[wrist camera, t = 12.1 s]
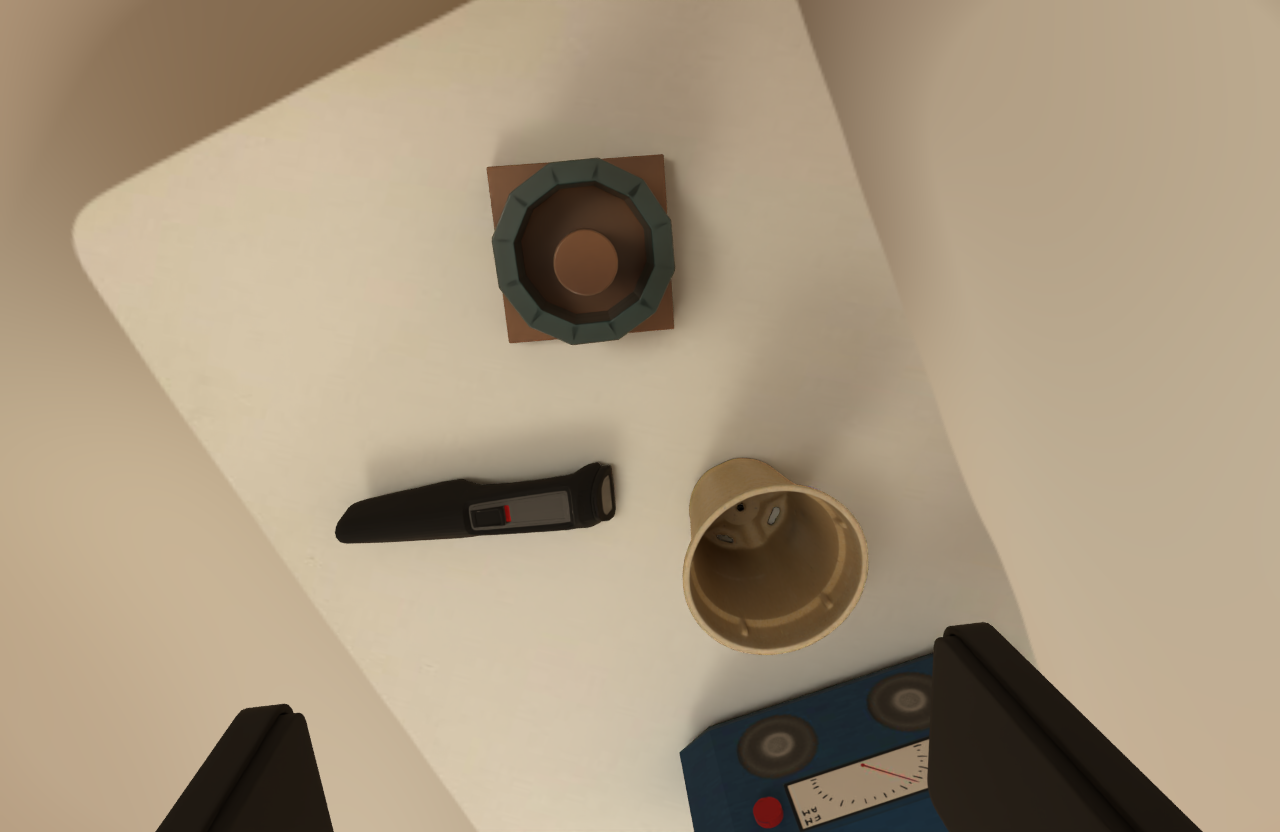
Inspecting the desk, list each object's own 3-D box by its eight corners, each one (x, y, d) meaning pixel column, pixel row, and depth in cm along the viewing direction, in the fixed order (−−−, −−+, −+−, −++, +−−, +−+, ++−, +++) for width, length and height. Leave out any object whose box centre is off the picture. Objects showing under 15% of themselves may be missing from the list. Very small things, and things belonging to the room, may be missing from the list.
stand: (490, 169, 36) (444, 142, 24) (660, 156, 37) (699, 124, 25) (511, 338, 39) (480, 391, 27) (670, 325, 39) (711, 370, 27)
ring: (491, 174, 35) (480, 169, 31) (656, 158, 35) (665, 150, 31) (516, 339, 37) (508, 352, 33) (670, 321, 37) (680, 333, 34)
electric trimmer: (346, 482, 40) (326, 504, 37) (610, 456, 41) (612, 475, 38) (358, 540, 41) (340, 566, 38) (616, 514, 42) (618, 537, 39)
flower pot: (814, 565, 44) (868, 645, 36) (668, 581, 43) (688, 666, 35) (812, 425, 41) (870, 475, 33) (657, 440, 41) (677, 495, 33)
